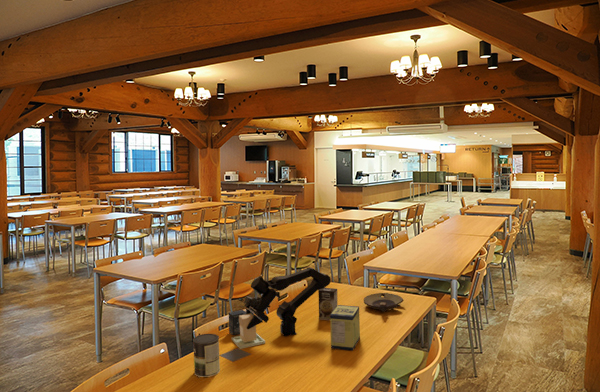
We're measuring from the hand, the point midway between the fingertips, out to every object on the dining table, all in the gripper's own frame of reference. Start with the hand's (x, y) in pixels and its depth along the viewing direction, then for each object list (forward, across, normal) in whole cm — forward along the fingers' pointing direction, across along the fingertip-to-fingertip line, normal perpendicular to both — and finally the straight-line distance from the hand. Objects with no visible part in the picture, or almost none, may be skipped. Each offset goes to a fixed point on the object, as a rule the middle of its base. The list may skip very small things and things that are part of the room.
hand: (244, 326), depth 206 cm
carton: (+4, 0, +5) cm, 6 cm away
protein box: (-23, +24, +34) cm, 48 cm away
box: (+5, -14, +6) cm, 16 cm away
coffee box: (-30, -9, +41) cm, 52 cm away
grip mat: (+12, +11, -1) cm, 16 cm away
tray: (+5, 0, +6) cm, 8 cm away
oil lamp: (-54, -7, +66) cm, 85 cm away
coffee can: (+22, +21, -11) cm, 33 cm away
